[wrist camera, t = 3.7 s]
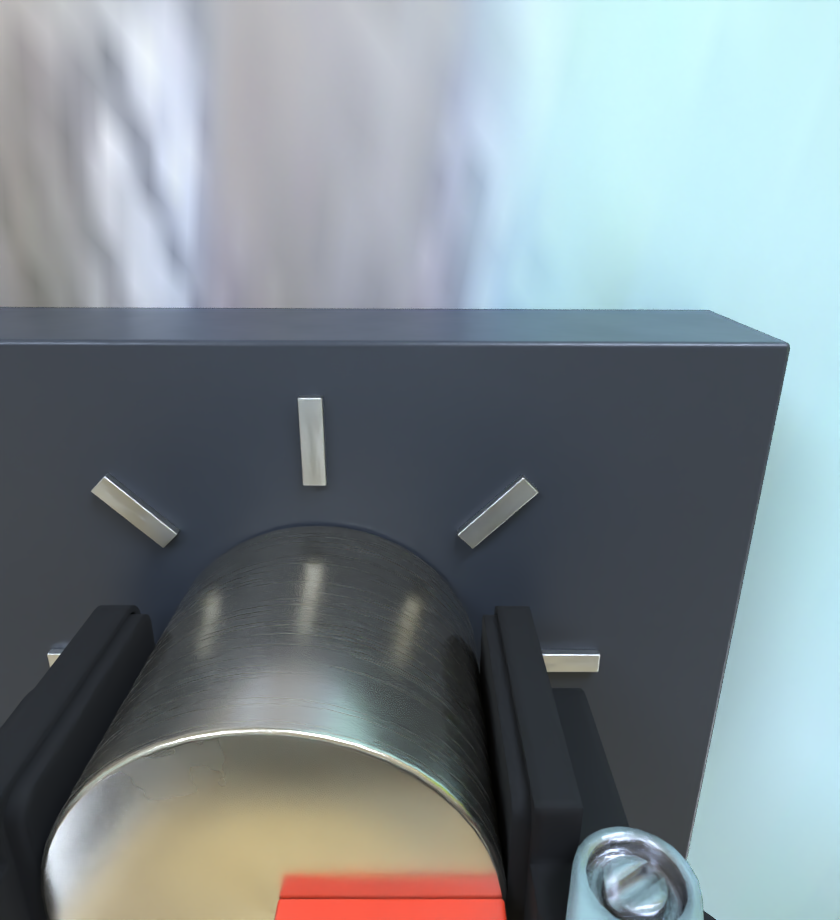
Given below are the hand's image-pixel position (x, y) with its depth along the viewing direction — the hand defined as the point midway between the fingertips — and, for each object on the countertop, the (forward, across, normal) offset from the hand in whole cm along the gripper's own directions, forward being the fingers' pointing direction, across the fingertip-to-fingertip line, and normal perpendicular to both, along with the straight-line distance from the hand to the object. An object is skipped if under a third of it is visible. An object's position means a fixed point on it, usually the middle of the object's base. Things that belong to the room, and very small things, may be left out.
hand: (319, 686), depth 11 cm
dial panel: (+4, 0, 0) cm, 4 cm away
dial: (+1, 0, 0) cm, 1 cm away
